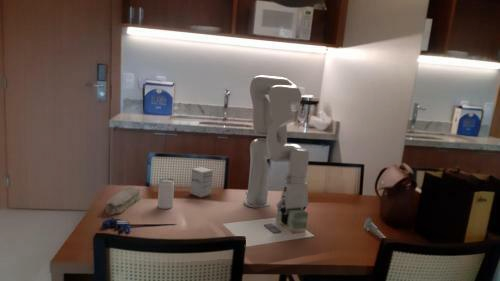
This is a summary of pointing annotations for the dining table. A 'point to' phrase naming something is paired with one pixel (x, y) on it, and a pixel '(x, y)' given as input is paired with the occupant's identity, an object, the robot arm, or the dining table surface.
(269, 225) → the mark chip
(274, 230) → the mark chip
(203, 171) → the supplement box
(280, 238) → the board
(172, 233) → the dining table surface
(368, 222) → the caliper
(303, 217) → the block
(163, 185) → the can
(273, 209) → the dining table surface
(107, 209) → the shoe brush
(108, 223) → the bar clamp
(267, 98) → the robot arm
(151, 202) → the dining table surface
